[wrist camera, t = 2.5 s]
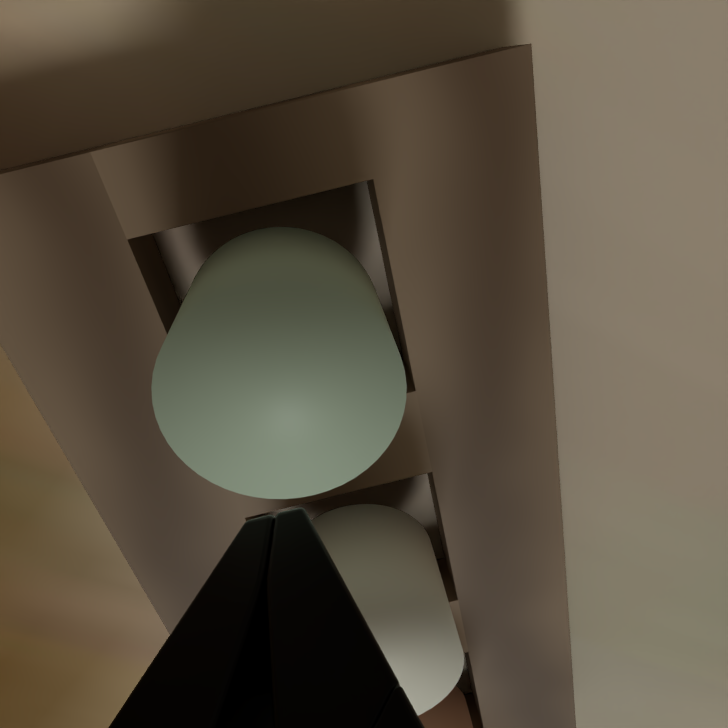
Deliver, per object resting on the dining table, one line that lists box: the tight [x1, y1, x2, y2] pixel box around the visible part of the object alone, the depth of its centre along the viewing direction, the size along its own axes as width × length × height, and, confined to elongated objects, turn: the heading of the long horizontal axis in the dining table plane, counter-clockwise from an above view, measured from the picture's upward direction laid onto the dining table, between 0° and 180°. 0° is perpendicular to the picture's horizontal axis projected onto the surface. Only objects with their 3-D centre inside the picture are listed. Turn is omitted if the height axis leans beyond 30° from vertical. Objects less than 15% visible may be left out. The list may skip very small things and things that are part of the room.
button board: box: [0, 44, 576, 728], centre depth 20 cm, size 14×28×2 cm, turn 12°
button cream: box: [311, 504, 464, 715], centre depth 17 cm, size 5×5×4 cm
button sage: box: [151, 227, 407, 499], centre depth 13 cm, size 5×5×4 cm
